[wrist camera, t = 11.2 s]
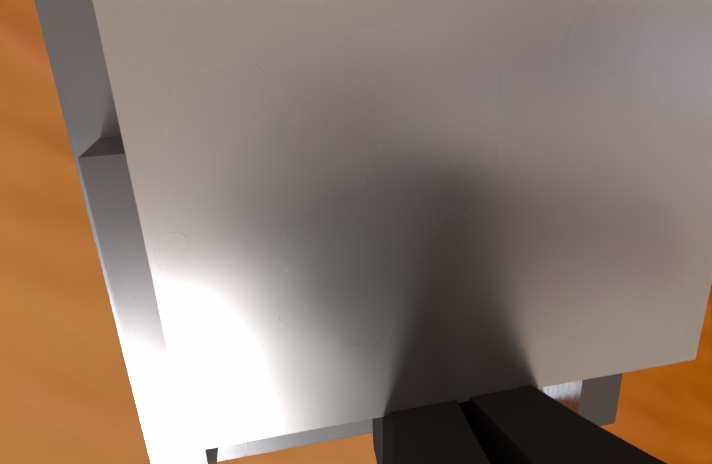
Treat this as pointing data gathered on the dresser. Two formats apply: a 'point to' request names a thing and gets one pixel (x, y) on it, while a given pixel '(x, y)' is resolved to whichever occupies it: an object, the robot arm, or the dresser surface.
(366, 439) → the dresser surface
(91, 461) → the dresser surface
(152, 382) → the base plate
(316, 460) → the dresser surface
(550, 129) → the block
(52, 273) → the dresser surface
